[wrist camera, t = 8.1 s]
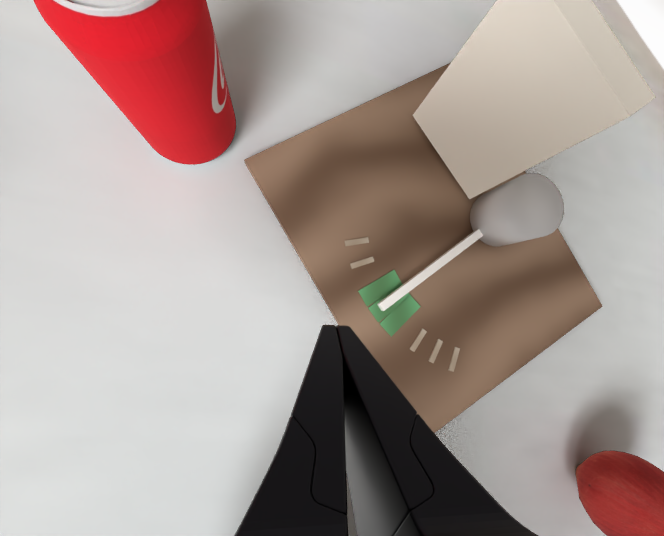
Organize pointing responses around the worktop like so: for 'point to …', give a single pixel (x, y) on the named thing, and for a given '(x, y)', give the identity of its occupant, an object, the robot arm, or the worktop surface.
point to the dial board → (416, 255)
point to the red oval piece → (622, 494)
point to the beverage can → (153, 69)
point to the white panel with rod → (524, 113)
